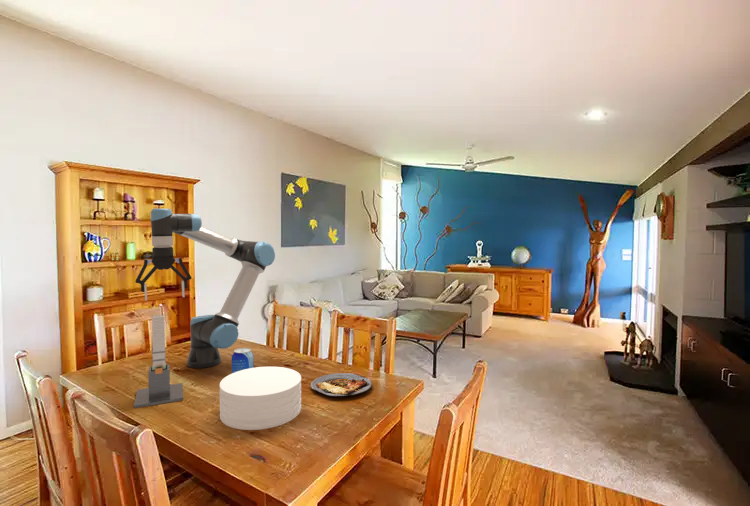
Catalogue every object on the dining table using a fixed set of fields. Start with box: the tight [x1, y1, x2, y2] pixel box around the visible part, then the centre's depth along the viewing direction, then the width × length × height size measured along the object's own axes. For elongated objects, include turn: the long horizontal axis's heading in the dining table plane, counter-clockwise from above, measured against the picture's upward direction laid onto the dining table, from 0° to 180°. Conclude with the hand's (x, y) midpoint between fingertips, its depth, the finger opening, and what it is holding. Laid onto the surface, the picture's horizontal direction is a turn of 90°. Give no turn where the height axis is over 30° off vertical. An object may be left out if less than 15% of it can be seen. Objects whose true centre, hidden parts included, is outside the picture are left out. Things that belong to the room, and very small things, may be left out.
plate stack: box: [219, 366, 302, 431], centre depth 144 cm, size 28×28×12 cm
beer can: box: [231, 347, 254, 374], centre depth 163 cm, size 8×8×16 cm
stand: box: [133, 363, 184, 409], centre depth 155 cm, size 16×16×12 cm
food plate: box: [310, 372, 373, 397], centre depth 165 cm, size 25×23×4 cm
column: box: [151, 314, 167, 371], centre depth 154 cm, size 5×5×22 cm
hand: (165, 298), depth 164 cm, fingers open, 13 cm apart
